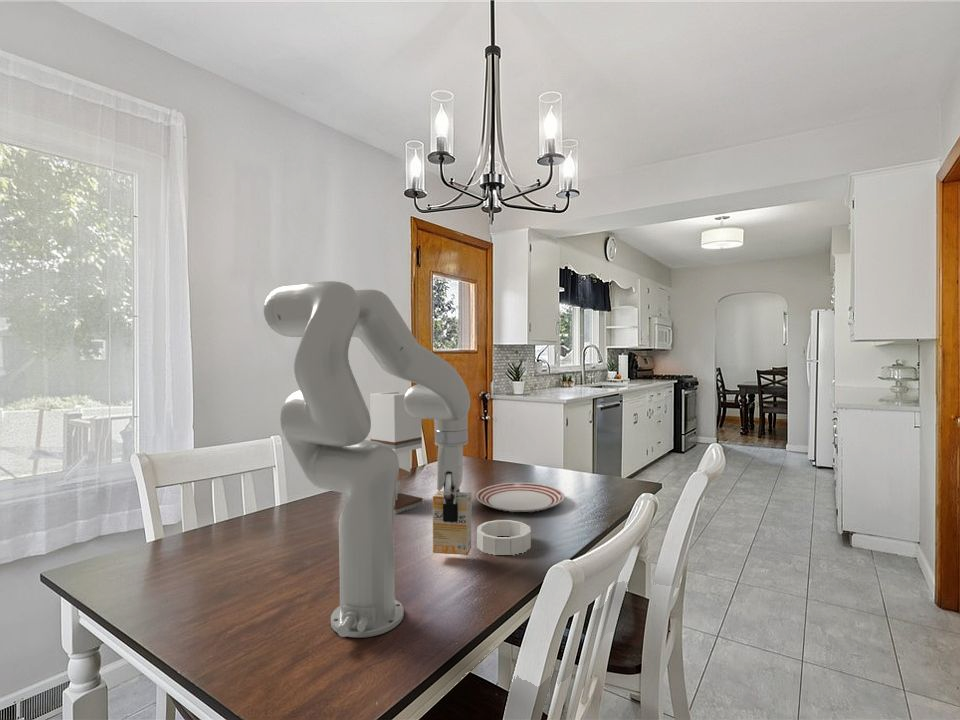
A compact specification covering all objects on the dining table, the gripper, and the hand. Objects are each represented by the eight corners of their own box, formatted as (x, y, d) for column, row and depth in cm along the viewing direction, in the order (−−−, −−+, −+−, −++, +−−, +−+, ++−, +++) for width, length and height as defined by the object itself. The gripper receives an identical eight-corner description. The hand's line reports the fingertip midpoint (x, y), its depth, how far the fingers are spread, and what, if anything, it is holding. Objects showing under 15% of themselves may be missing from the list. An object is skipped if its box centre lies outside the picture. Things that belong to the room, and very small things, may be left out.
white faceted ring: (531, 556, 116) (531, 538, 116) (475, 555, 117) (475, 538, 117) (529, 535, 129) (529, 520, 129) (479, 535, 130) (479, 519, 130)
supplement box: (432, 554, 113) (431, 495, 113) (437, 545, 118) (437, 490, 117) (468, 556, 111) (467, 497, 111) (472, 548, 116) (471, 491, 116)
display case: (395, 514, 148) (394, 395, 148) (371, 507, 154) (370, 393, 154) (422, 504, 157) (421, 392, 157) (398, 499, 164) (397, 391, 163)
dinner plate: (555, 522, 140) (555, 510, 140) (463, 513, 149) (463, 502, 149) (571, 495, 166) (570, 485, 166) (491, 489, 175) (491, 479, 175)
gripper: (440, 431, 123) (441, 505, 123) (428, 444, 106) (429, 530, 106) (470, 431, 122) (471, 505, 123) (463, 444, 105) (465, 530, 106)
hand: (452, 516), depth 114 cm, fingers closed on supplement box, 5 cm apart
